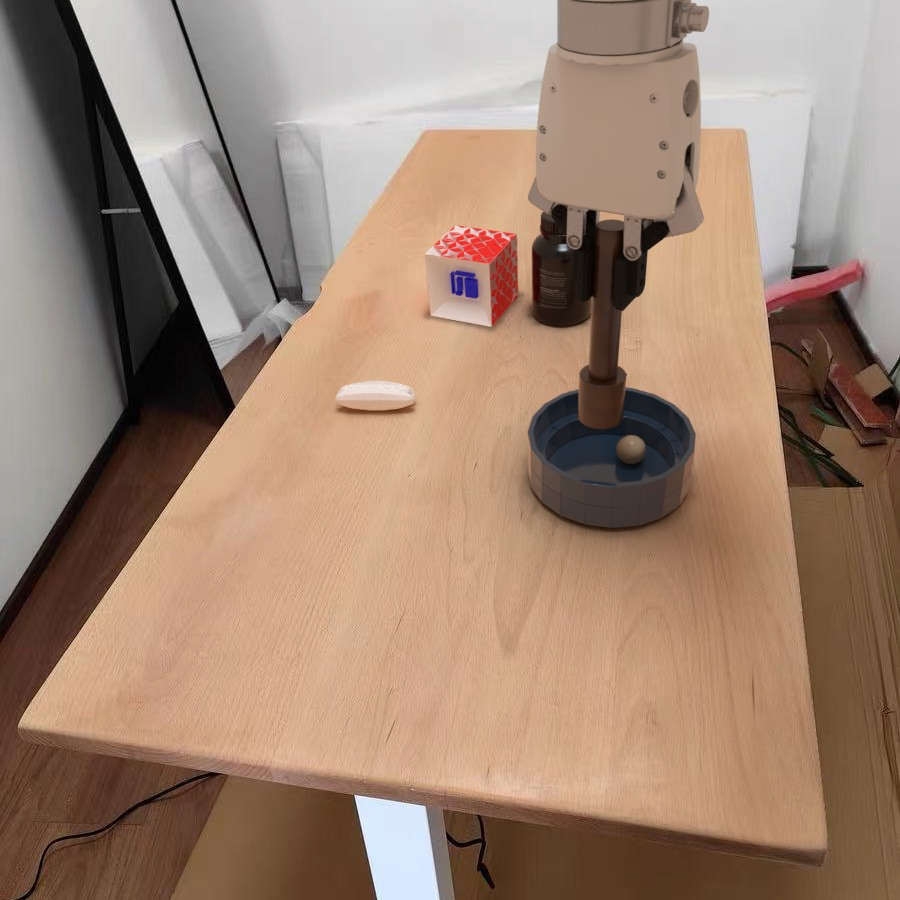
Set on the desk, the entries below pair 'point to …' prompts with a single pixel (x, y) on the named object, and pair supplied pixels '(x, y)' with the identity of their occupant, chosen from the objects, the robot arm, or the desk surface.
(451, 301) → the puzzle cube
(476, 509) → the desk surface
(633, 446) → the ball
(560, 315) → the supplement bottle
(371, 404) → the sandwich bun
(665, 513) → the bowl
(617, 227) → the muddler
